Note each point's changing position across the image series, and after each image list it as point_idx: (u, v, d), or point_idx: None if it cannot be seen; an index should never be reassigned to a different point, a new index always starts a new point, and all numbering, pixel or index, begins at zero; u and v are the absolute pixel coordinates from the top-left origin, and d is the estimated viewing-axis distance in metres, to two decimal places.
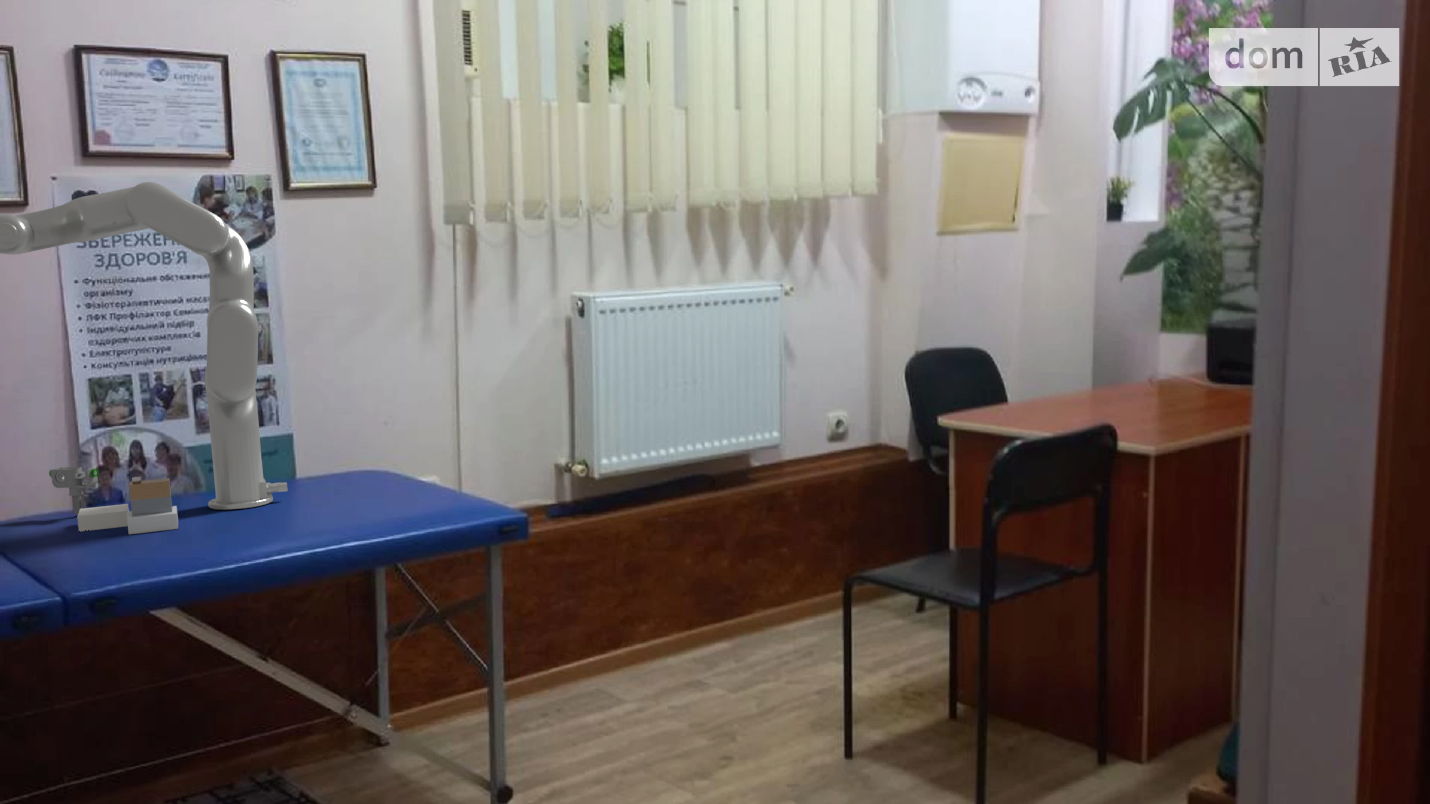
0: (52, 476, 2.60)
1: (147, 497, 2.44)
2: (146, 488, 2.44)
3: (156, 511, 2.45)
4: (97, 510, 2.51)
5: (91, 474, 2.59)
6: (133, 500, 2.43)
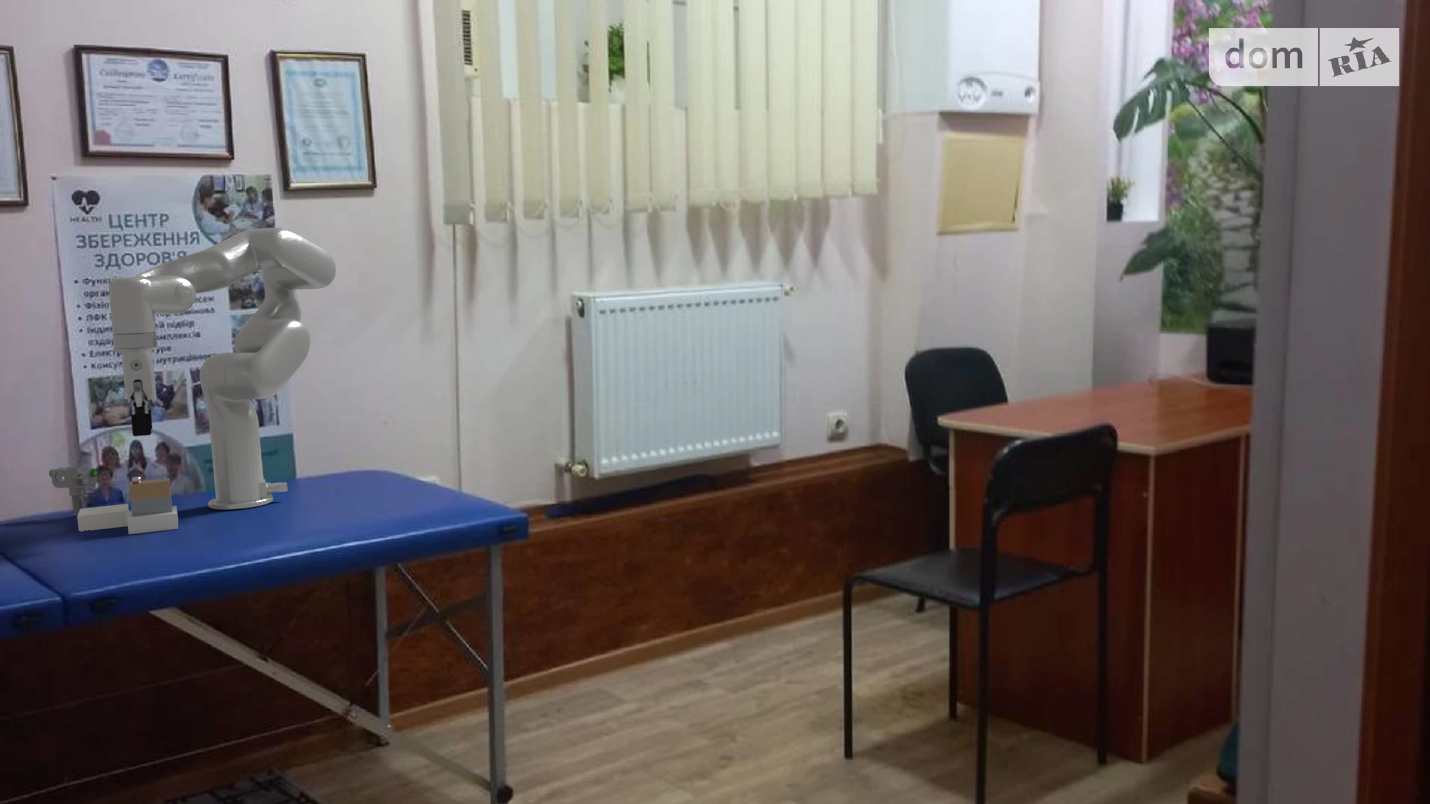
0: (52, 476, 2.60)
1: (147, 497, 2.44)
2: (146, 488, 2.44)
3: (156, 511, 2.45)
4: (97, 510, 2.51)
5: (91, 474, 2.59)
6: (133, 500, 2.43)
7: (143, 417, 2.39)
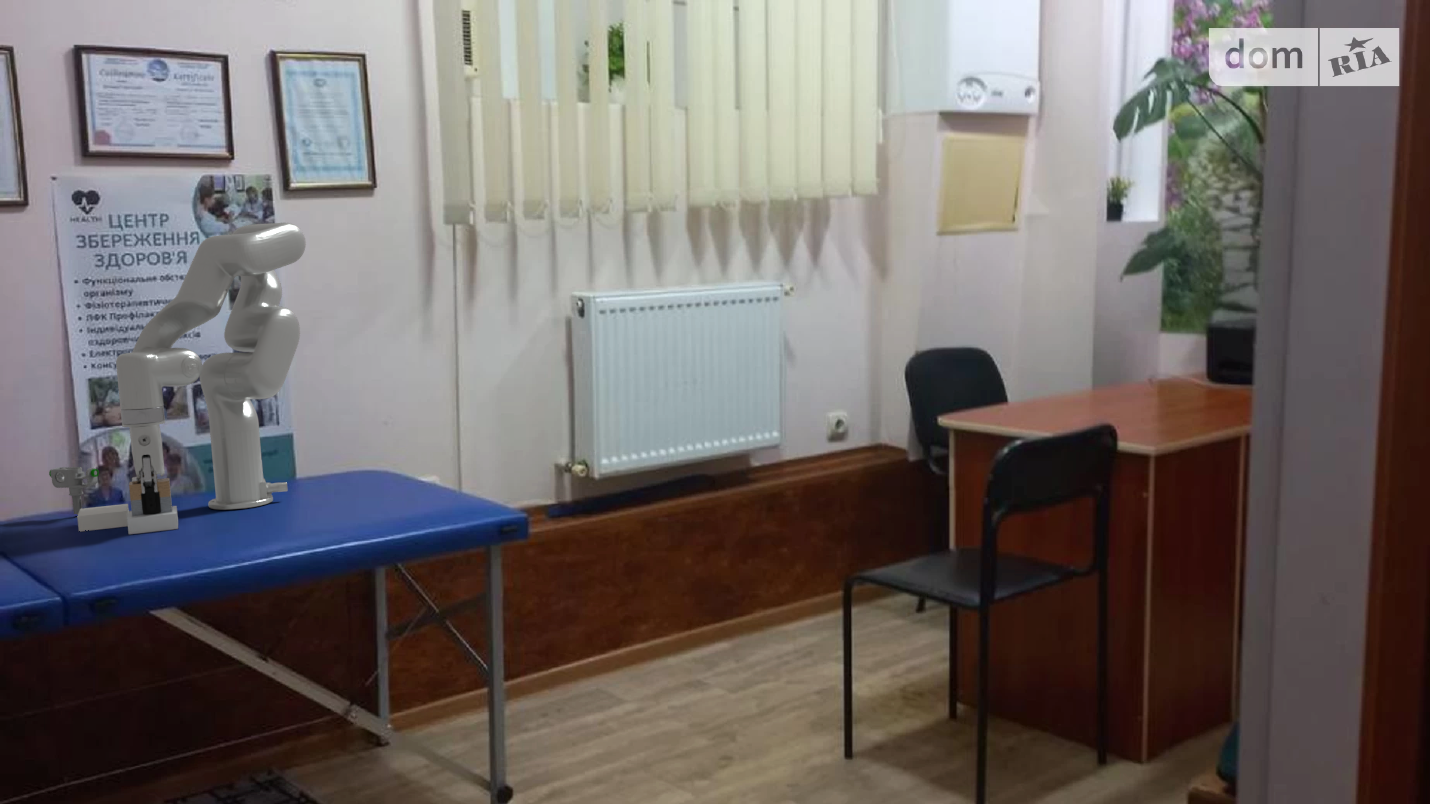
0: (52, 476, 2.60)
1: None
2: None
3: None
4: (97, 510, 2.51)
5: (91, 474, 2.59)
6: (133, 500, 2.43)
7: (153, 496, 2.43)
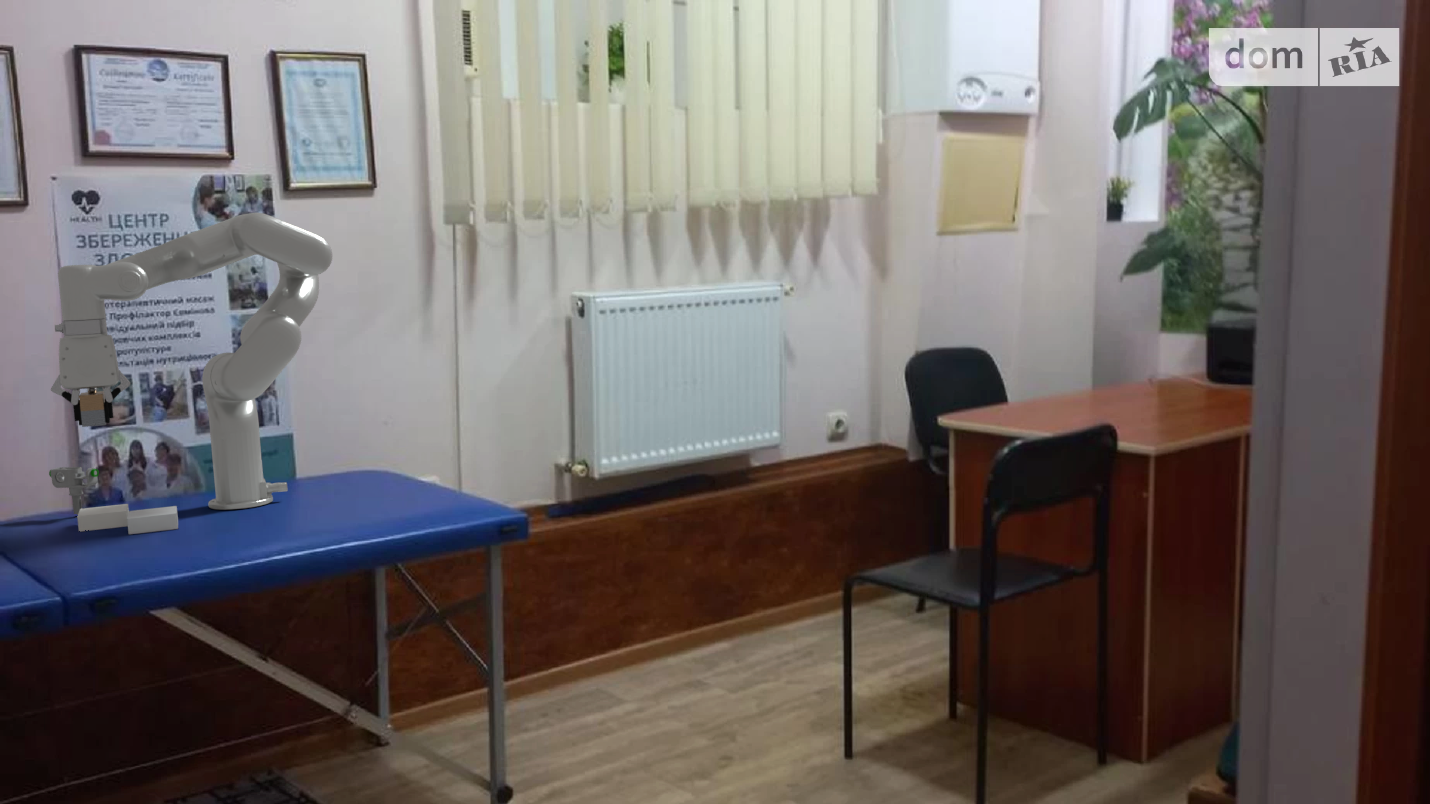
0: (52, 476, 2.60)
1: None
2: None
3: None
4: (97, 510, 2.51)
5: (91, 474, 2.59)
6: None
7: None
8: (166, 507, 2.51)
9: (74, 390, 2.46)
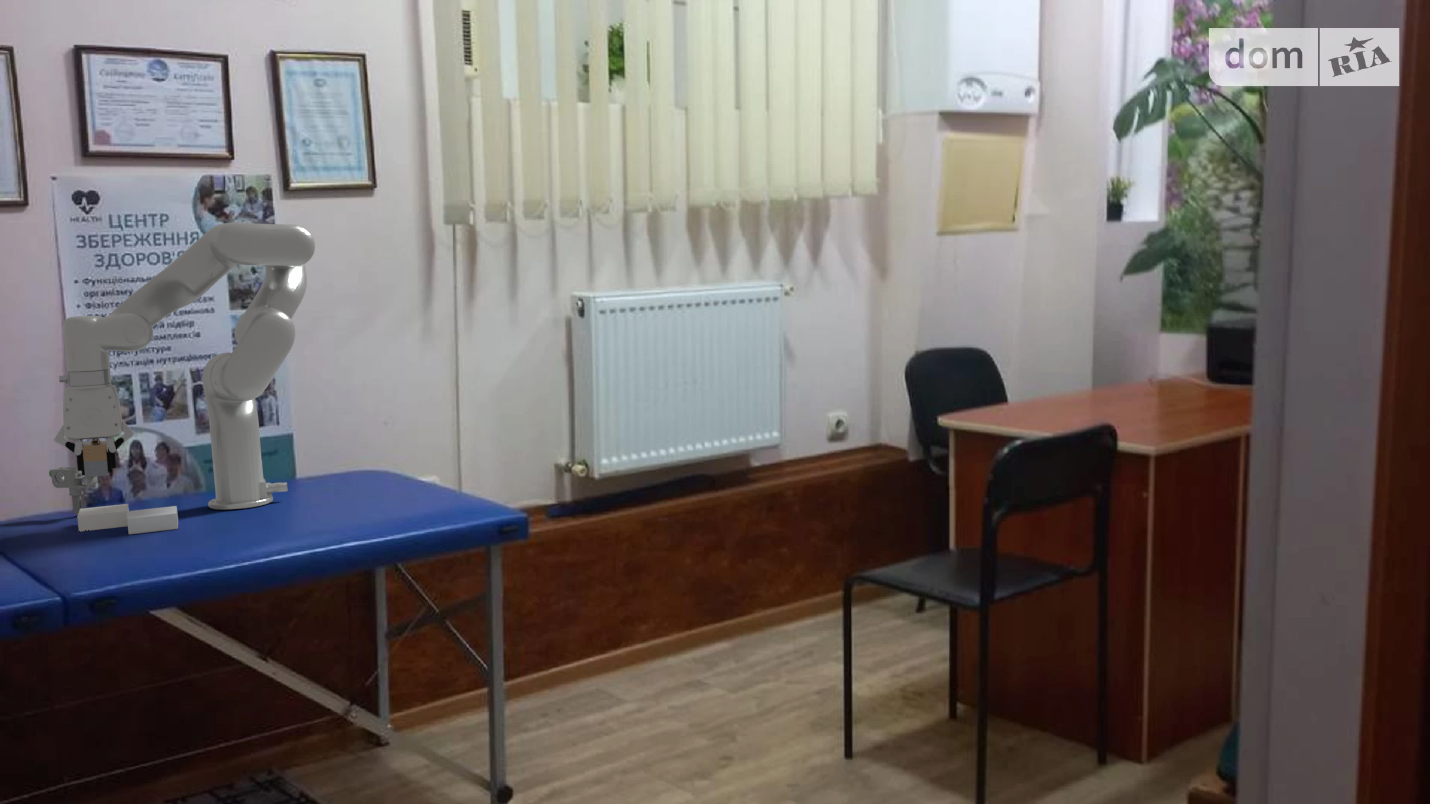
0: (52, 476, 2.60)
1: None
2: None
3: None
4: (97, 510, 2.51)
5: None
6: None
7: None
8: (166, 507, 2.51)
9: (77, 440, 2.47)
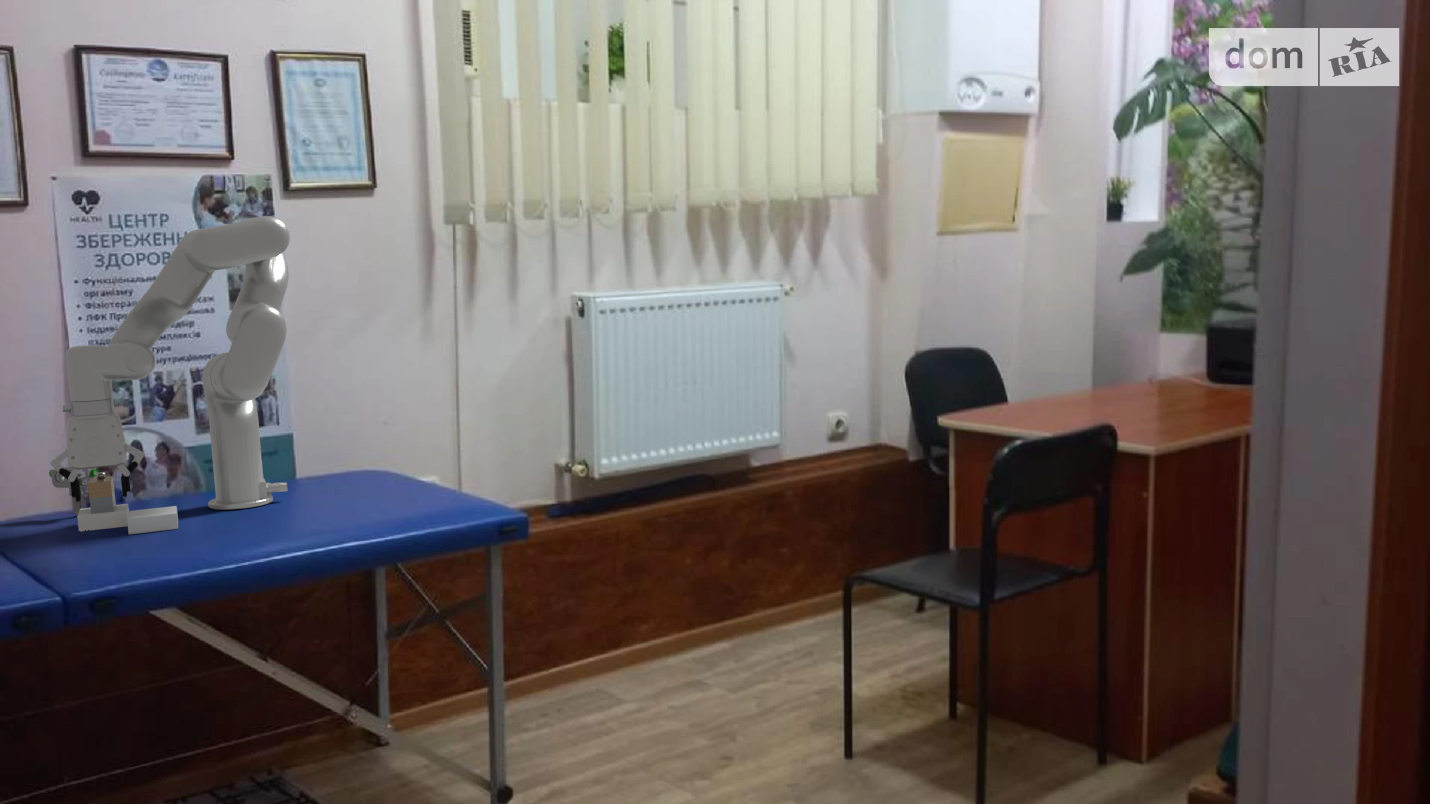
0: (52, 476, 2.60)
1: None
2: None
3: None
4: None
5: (91, 474, 2.59)
6: None
7: None
8: (166, 507, 2.51)
9: None
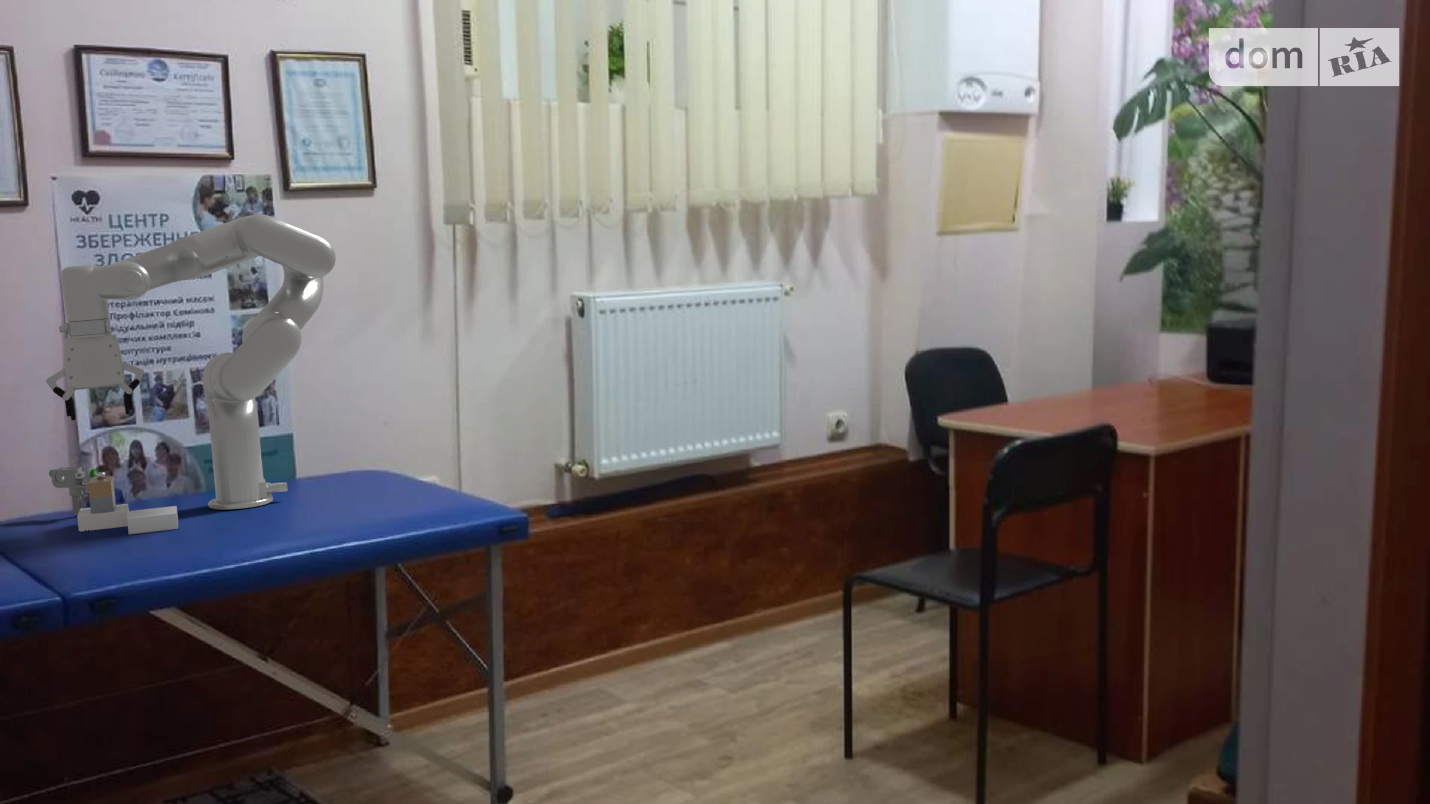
0: (52, 476, 2.60)
1: None
2: None
3: None
4: None
5: (91, 474, 2.59)
6: None
7: (65, 403, 2.48)
8: (166, 507, 2.51)
9: None
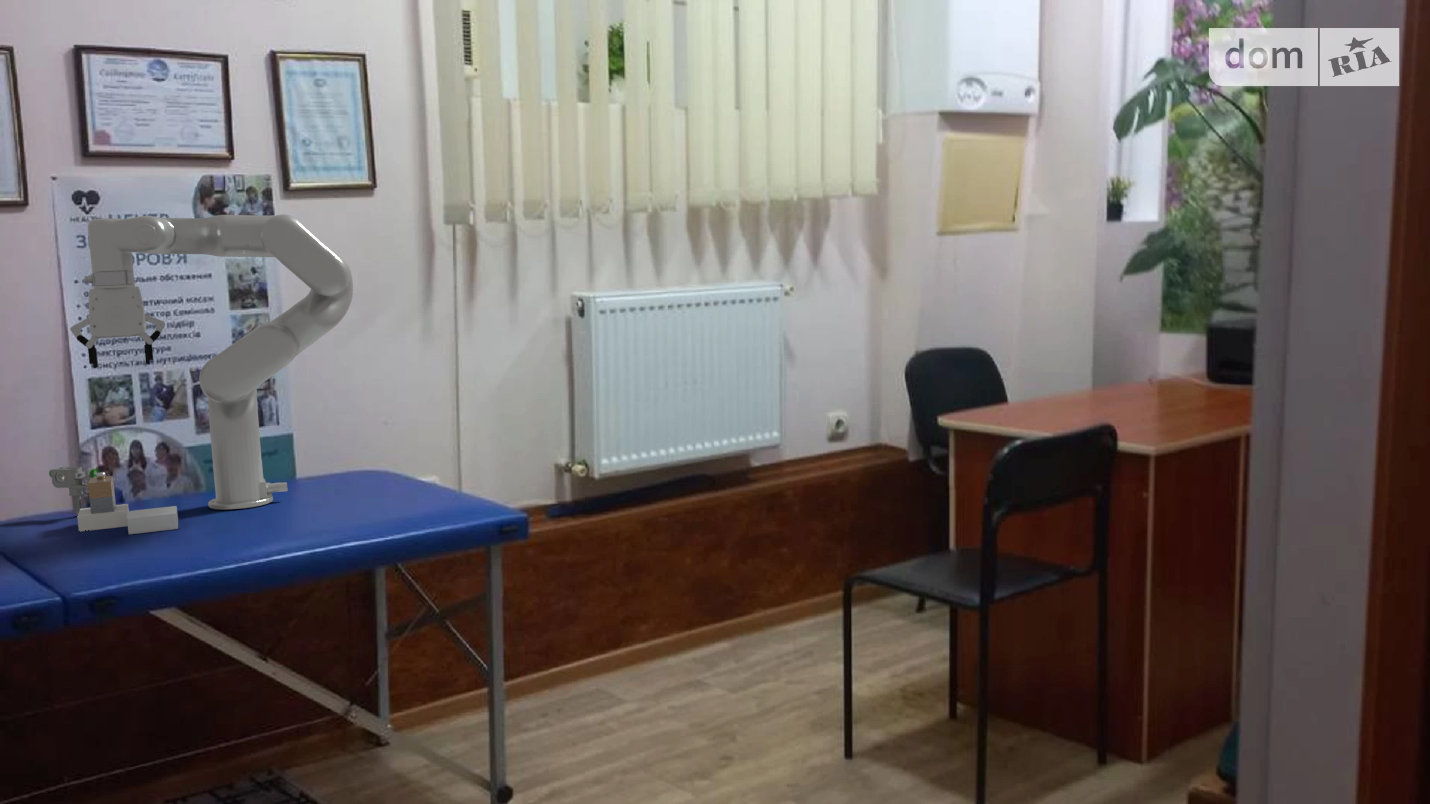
0: (52, 476, 2.60)
1: None
2: None
3: None
4: None
5: (91, 474, 2.59)
6: None
7: (88, 351, 2.56)
8: (166, 507, 2.51)
9: None
